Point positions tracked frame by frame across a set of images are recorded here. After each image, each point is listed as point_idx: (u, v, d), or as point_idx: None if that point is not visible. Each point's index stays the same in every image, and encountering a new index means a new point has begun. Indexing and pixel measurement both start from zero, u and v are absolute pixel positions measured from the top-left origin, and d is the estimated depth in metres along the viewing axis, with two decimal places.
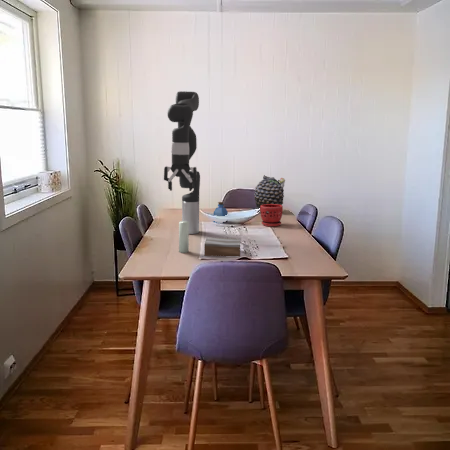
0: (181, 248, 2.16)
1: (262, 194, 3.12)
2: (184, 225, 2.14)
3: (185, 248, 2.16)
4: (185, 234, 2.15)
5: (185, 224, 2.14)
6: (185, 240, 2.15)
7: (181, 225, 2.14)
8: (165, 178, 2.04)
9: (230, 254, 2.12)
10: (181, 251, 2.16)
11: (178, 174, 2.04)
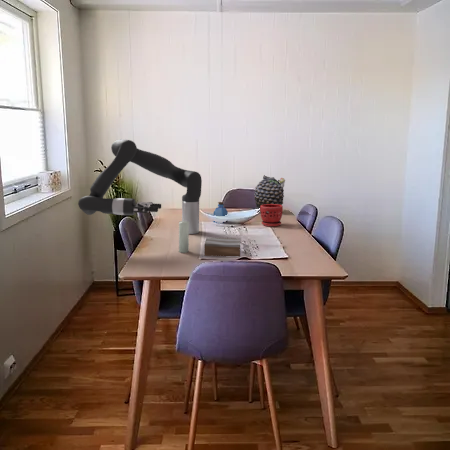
0: (181, 248, 2.16)
1: (262, 194, 3.12)
2: (184, 225, 2.14)
3: (185, 248, 2.16)
4: (185, 234, 2.15)
5: (185, 224, 2.14)
6: (185, 240, 2.15)
7: (181, 225, 2.14)
8: None
9: (230, 254, 2.12)
10: (181, 251, 2.16)
11: None
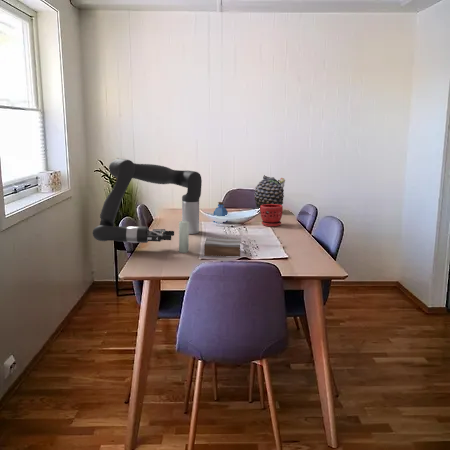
0: (181, 248, 2.16)
1: (262, 194, 3.12)
2: (184, 225, 2.14)
3: (185, 248, 2.16)
4: (185, 234, 2.15)
5: (185, 224, 2.14)
6: (185, 240, 2.15)
7: (181, 225, 2.14)
8: None
9: (230, 254, 2.12)
10: (181, 251, 2.16)
11: None
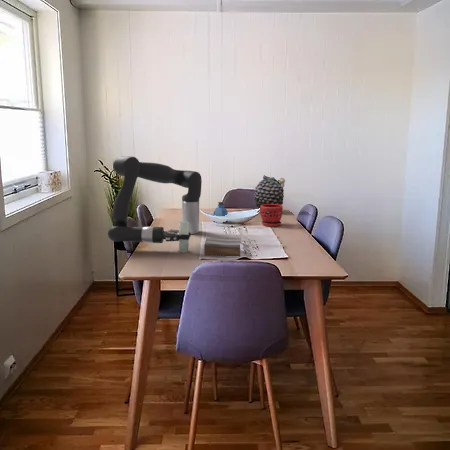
0: (181, 248, 2.16)
1: (262, 194, 3.12)
2: (184, 225, 2.14)
3: (185, 248, 2.16)
4: (185, 234, 2.15)
5: (185, 224, 2.14)
6: (185, 240, 2.15)
7: (181, 225, 2.14)
8: None
9: (230, 254, 2.12)
10: (181, 251, 2.17)
11: None
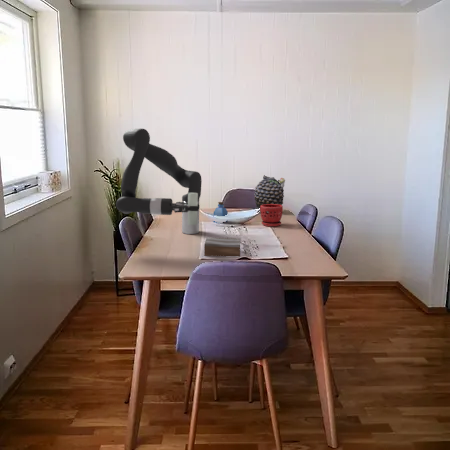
0: (190, 219, 2.13)
1: (262, 194, 3.12)
2: (193, 196, 2.11)
3: (194, 220, 2.13)
4: (194, 205, 2.12)
5: (194, 195, 2.11)
6: (194, 212, 2.12)
7: (190, 196, 2.11)
8: None
9: (230, 254, 2.12)
10: (190, 223, 2.14)
11: None
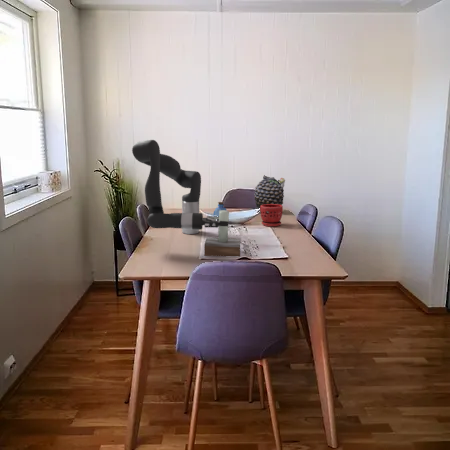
0: (221, 237, 2.14)
1: (262, 194, 3.12)
2: (224, 214, 2.12)
3: (225, 237, 2.15)
4: None
5: (225, 213, 2.12)
6: (225, 229, 2.14)
7: (221, 214, 2.12)
8: None
9: (230, 254, 2.12)
10: (220, 240, 2.15)
11: None
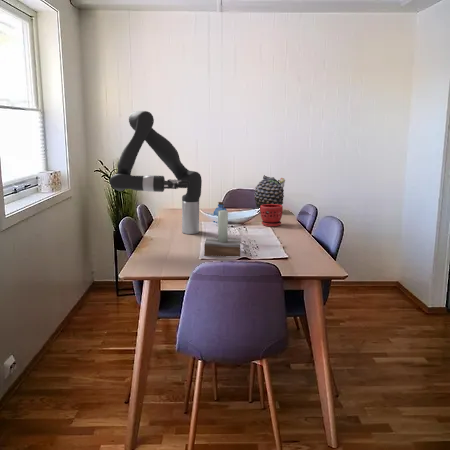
0: (220, 237, 2.14)
1: (262, 194, 3.12)
2: (224, 214, 2.12)
3: (224, 237, 2.15)
4: (224, 223, 2.13)
5: (225, 213, 2.12)
6: (225, 229, 2.14)
7: (220, 214, 2.12)
8: None
9: (230, 254, 2.12)
10: (220, 241, 2.15)
11: None
